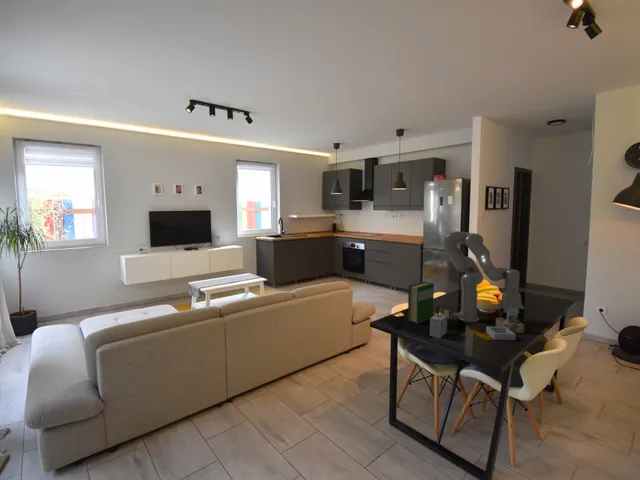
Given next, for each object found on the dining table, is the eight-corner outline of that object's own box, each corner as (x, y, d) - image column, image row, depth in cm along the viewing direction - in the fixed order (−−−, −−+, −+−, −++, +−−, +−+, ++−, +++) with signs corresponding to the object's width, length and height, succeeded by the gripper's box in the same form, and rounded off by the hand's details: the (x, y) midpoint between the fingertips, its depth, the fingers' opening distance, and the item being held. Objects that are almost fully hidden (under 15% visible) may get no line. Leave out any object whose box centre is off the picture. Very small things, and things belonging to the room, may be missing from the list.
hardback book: (417, 324, 214) (418, 287, 212) (407, 321, 220) (408, 285, 217) (432, 318, 225) (433, 283, 223) (423, 315, 231) (424, 281, 228)
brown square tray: (504, 332, 199) (504, 324, 199) (495, 325, 210) (496, 317, 210) (524, 332, 198) (524, 324, 198) (514, 326, 210) (515, 318, 209)
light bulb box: (435, 330, 203) (436, 313, 202) (447, 332, 199) (447, 315, 198) (429, 335, 195) (429, 317, 194) (440, 338, 191) (441, 320, 190)
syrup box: (511, 327, 207) (512, 304, 206) (516, 330, 202) (518, 307, 200) (502, 327, 207) (503, 304, 206) (507, 330, 201) (508, 307, 200)
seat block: (494, 339, 188) (494, 333, 188) (486, 332, 200) (486, 326, 199) (515, 340, 187) (515, 334, 187) (506, 332, 199) (506, 326, 198)
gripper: (499, 291, 199) (497, 320, 201) (529, 291, 197) (528, 321, 199) (493, 288, 206) (492, 316, 208) (523, 288, 205) (521, 317, 207)
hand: (509, 318), depth 204 cm, fingers closed on syrup box, 6 cm apart
